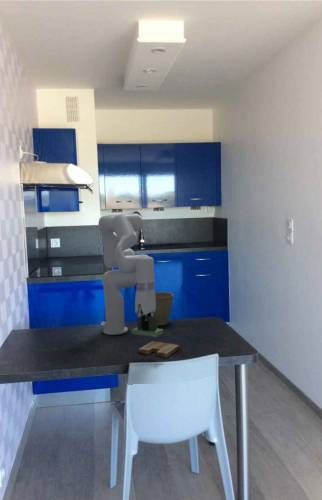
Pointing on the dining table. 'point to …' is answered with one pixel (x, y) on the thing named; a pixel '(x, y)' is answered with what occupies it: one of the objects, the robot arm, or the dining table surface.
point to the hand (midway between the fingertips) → (147, 328)
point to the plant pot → (163, 307)
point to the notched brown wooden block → (159, 348)
